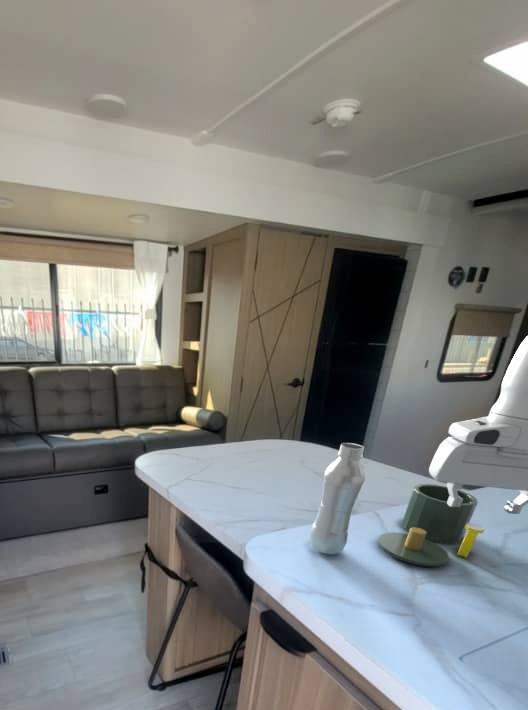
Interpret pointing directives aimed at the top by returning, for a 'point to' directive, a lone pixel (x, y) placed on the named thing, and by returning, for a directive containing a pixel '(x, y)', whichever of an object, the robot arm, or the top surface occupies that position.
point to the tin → (438, 513)
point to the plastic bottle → (338, 500)
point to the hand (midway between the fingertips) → (481, 509)
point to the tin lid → (413, 548)
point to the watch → (469, 538)
